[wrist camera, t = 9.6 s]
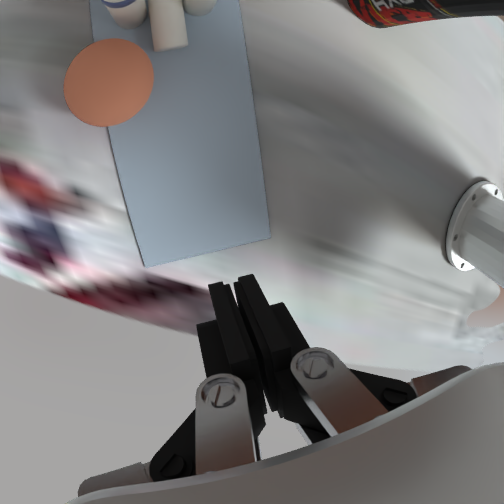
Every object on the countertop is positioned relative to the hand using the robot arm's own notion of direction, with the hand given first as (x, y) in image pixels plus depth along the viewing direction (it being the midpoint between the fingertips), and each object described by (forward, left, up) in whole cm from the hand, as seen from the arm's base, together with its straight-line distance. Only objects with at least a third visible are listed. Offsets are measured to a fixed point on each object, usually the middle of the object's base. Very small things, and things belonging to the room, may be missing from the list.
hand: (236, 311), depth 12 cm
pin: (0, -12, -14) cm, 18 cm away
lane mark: (0, -7, -15) cm, 17 cm away
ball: (+4, -10, -12) cm, 16 cm away
